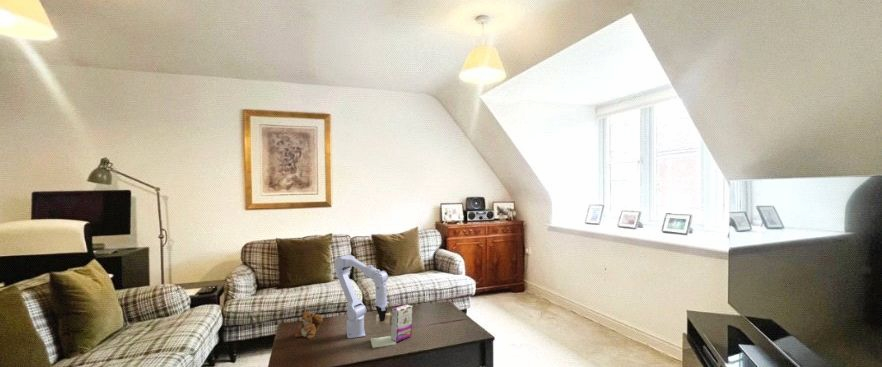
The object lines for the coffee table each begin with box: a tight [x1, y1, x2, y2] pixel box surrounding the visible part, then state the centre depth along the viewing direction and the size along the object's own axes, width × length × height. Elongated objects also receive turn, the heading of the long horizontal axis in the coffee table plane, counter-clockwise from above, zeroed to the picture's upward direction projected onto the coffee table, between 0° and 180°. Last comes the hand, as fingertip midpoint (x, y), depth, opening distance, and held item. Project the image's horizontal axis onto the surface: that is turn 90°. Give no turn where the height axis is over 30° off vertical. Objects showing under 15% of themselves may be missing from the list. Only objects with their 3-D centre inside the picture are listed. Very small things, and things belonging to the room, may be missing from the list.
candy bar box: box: [390, 304, 414, 343], centre depth 202 cm, size 11×5×16 cm, turn 140°
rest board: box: [370, 335, 397, 349], centre depth 198 cm, size 12×10×1 cm
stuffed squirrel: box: [294, 310, 324, 340], centre depth 211 cm, size 10×14×13 cm
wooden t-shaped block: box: [375, 311, 392, 326], centre depth 202 cm, size 8×7×5 cm
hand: (381, 320), depth 202 cm, fingers closed on wooden t-shaped block, 2 cm apart
